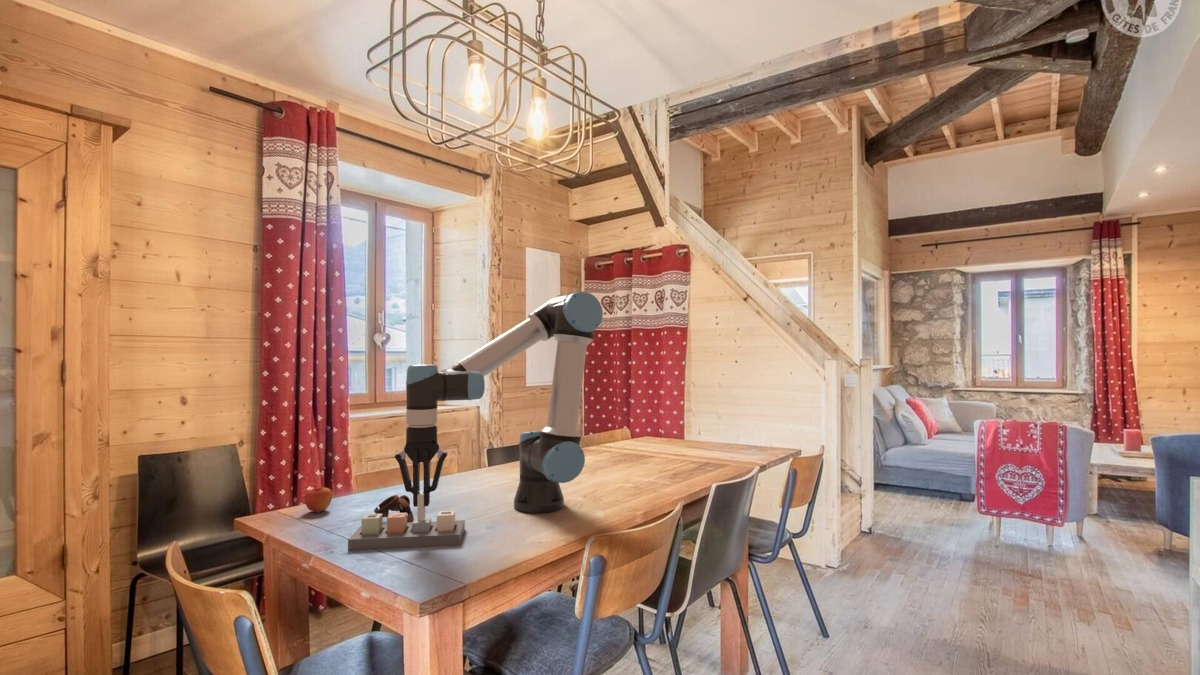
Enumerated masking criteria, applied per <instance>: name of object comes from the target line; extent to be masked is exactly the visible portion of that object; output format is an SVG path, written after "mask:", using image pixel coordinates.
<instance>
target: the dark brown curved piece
mask: <svg viewBox="0 0 1200 675" xmlns="http://www.w3.org/2000/svg"><path fill="white" fill-rule="evenodd" d="M390 511H391V512H398V513H407V523H412V522H413V521H414V520H415V518H414V517H415V516H414V515H413V512H412V510H411V500H410V498H409V496H408V495H405V494H403V495H401V496H398V494H394V495H391V496H390V497H387V498H386V499H384V501H382V502H380V503H379V504H378V507H375V508H374V509H373V512H374V514H383V518H387V517H388V516H389V515H390Z"/></svg>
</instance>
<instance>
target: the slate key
mask: <svg viewBox="0 0 1200 675" xmlns="http://www.w3.org/2000/svg"><path fill="white" fill-rule="evenodd" d="M412 522H413V523H412ZM412 522H411V523H412V532H430V531H431V522H432V518H431V517H429V518H428V517H425V519H424V521H417V518H414V519H413V521H412Z"/></svg>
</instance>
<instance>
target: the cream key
mask: <svg viewBox="0 0 1200 675" xmlns="http://www.w3.org/2000/svg"><path fill="white" fill-rule="evenodd" d="M436 521H437V531H453V530H454V528H455V521H456V510H442V511H441V510H440V511H439V510H438V513H437V515H436Z"/></svg>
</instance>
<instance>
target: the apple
mask: <svg viewBox="0 0 1200 675" xmlns="http://www.w3.org/2000/svg"><path fill="white" fill-rule="evenodd" d="M332 499H333V492H332V490H331V489H330V488H328V487H321V486H320V487H316V485H314V488H311V489H309V490H307V491H306V492H305V495H304V504H305V506H306V508H307V509H308V510H310V511H311V512H313V513H317V514H318V513H321V512H324V511H326V510H327V509H328V508H329V506H330V504H331V502H332Z"/></svg>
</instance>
